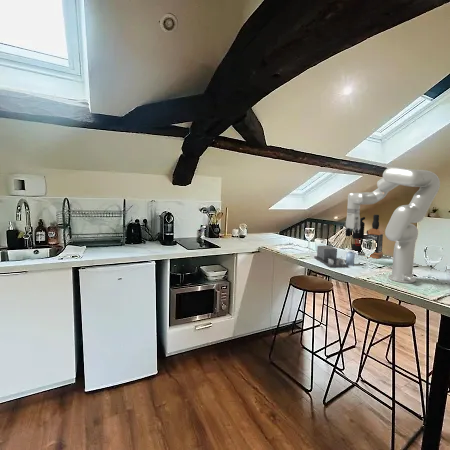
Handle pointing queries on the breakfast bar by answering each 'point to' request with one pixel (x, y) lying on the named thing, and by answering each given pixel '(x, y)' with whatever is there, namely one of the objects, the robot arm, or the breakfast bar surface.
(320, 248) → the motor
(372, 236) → the whiskey bottle
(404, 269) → the robot arm
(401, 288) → the breakfast bar surface
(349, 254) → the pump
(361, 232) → the dark red-label bottle
